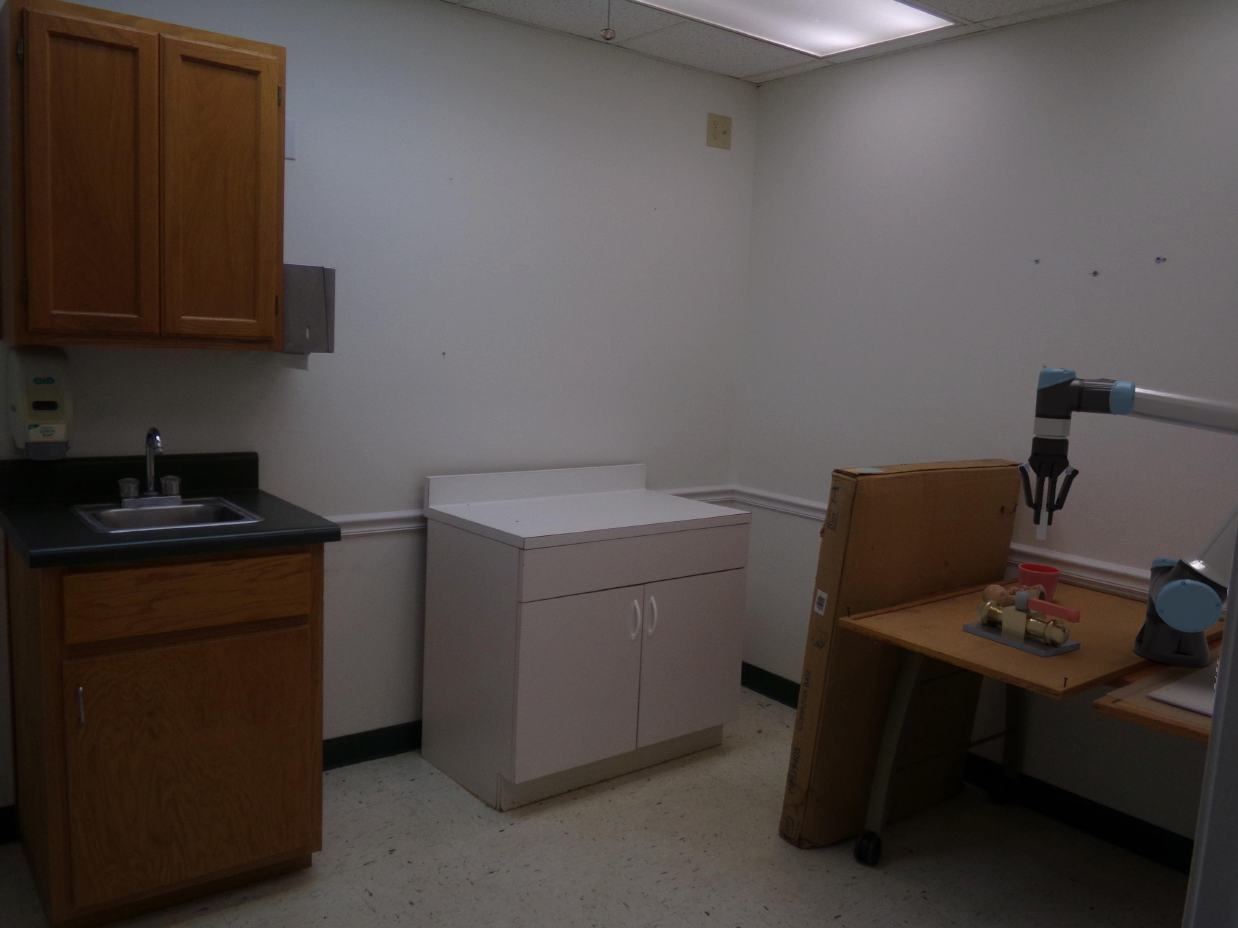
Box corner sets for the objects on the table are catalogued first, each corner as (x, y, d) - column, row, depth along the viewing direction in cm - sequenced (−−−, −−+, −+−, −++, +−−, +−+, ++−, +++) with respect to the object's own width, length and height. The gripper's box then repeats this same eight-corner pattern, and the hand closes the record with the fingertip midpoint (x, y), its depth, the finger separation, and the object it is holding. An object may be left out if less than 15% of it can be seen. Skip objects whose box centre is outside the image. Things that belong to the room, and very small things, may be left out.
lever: (1021, 605, 221) (1022, 590, 221) (1082, 623, 208) (1084, 608, 207) (1011, 606, 220) (1012, 592, 219) (1073, 625, 206) (1074, 609, 205)
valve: (1079, 648, 214) (1083, 617, 214) (1044, 657, 207) (1047, 625, 206) (997, 623, 233) (1000, 594, 232) (962, 630, 226) (965, 600, 225)
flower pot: (1064, 607, 251) (1068, 573, 250) (1024, 605, 251) (1028, 571, 250) (1047, 597, 262) (1050, 564, 260) (1009, 595, 262) (1012, 562, 260)
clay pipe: (996, 640, 231) (1059, 629, 227) (986, 600, 230) (1049, 588, 226) (986, 618, 249) (1044, 607, 245) (977, 580, 248) (1035, 569, 244)
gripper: (1077, 437, 208) (1067, 538, 211) (1016, 433, 211) (1007, 533, 214) (1086, 440, 201) (1075, 544, 204) (1023, 436, 204) (1013, 539, 207)
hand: (1040, 538), depth 209 cm, fingers closed
